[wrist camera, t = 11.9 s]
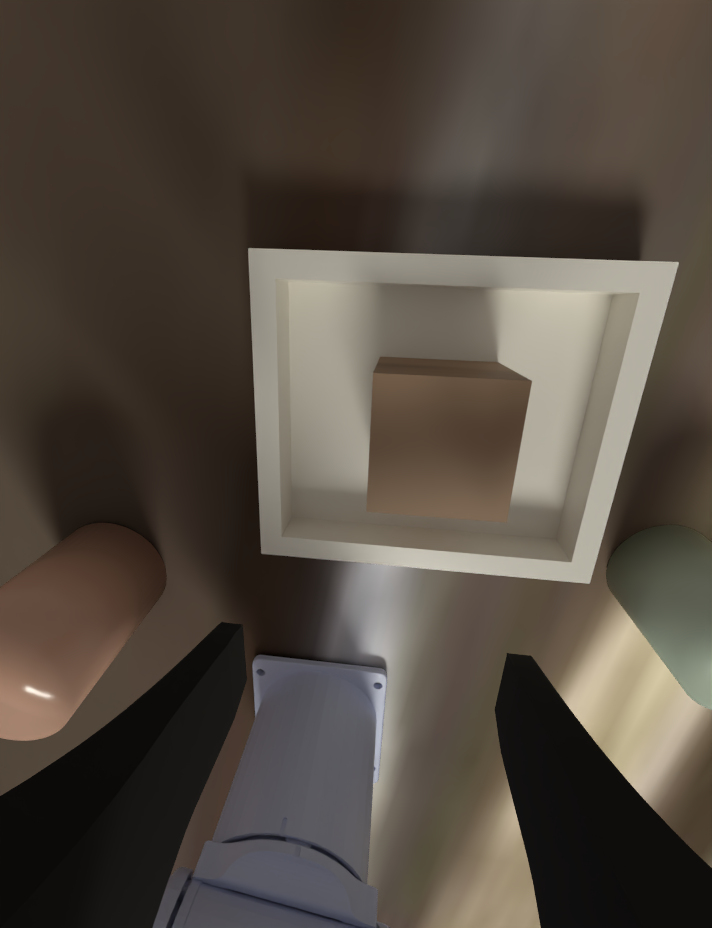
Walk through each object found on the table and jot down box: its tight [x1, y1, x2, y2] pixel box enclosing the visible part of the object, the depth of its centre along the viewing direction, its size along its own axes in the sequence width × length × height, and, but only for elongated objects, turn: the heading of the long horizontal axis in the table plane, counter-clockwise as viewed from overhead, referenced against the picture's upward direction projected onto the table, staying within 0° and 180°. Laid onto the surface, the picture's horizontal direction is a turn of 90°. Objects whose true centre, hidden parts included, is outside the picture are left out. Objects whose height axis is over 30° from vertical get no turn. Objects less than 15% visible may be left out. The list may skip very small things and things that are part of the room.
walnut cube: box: [366, 357, 532, 523], centre depth 17 cm, size 5×5×5 cm
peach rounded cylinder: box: [0, 523, 167, 741], centre depth 21 cm, size 6×6×8 cm
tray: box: [248, 248, 679, 584], centre depth 18 cm, size 13×15×2 cm
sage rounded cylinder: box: [606, 525, 712, 710], centre depth 18 cm, size 5×5×6 cm
